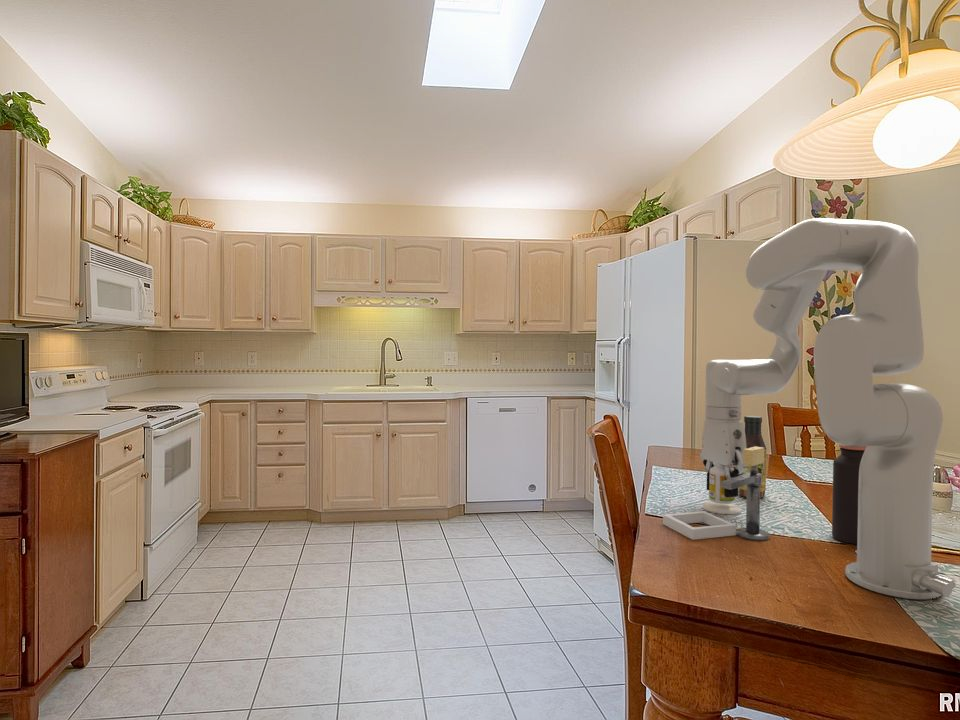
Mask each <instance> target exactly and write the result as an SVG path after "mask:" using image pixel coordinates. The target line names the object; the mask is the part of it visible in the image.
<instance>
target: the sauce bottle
mask: <svg viewBox="0 0 960 720" xmlns="http://www.w3.org/2000/svg"><path fill="white" fill-rule="evenodd" d="M743 419H744V420H743V423H744V429H745V436H746V449H747V448H751V447H755V446H756V447H763V448H764V463H761V464H758V465H757V473H761V474H762V485H760V499H762V498H765V496H766V490H767V489H766V486H767V447H766V444H765V441H764V439H763V438H764V437H763V435H762V423H763V417H762V416H759V415H757V416H756V415H744V417H743ZM747 466H748V469H747V470H746V471H744V472H743V474H745V473H746V472H750V466H749V465H747ZM743 474H742V475H743ZM738 496H741V497H744V498H747V485H744V486H741V487H738Z"/></svg>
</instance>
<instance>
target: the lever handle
mask: <svg viewBox="0 0 960 720" xmlns="http://www.w3.org/2000/svg"><path fill="white" fill-rule="evenodd" d="M761 463H764V448H763V447H756V446H755V447H751V448H747V449H743V465H749V466H750V472H746V473H745V474H743V475H740V476H737V477H733V478H730V479H727V480H724V481H721V488H725V489H730V490H732V489H735V488H738V487H741V486H744V485H747V484H748V485H753V486H760V485H762V474H761V473H757V465H758V464H761ZM738 489H739V488H738Z"/></svg>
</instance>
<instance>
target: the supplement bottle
mask: <svg viewBox="0 0 960 720" xmlns="http://www.w3.org/2000/svg"><path fill="white" fill-rule="evenodd" d="M713 465H714V467H712V468H710V472H709V490H708V495H709V496H708V498H709V500H710V501H712V502H715V503H721V504H731V503H733V504H735V501H736V500H735V499H736V497H725V495H724V488H721V481H724V480H725V479H727V477H726V472H725V467H724V466H723V465H720V464H718V463H716V462H715V461H714V462H713ZM730 469H731V472H732V471H733V470H734V469H733V468H730Z"/></svg>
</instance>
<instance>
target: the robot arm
mask: <svg viewBox="0 0 960 720" xmlns="http://www.w3.org/2000/svg"><path fill="white" fill-rule="evenodd" d="M828 271H850V272H853V271H855V272H859V271H860V272H862V273H861V274H860V275H859V277H858V279H857V281H856V284H855V288H854V292H853V300H854V302H853V303H854V314H842V315H838V316H835V317H833V318H831V319H829V320H827V321H826V322H825V323H824V324H823V325H822V327H820V329H819V331H818V332H817V334H816V336H815V337H816V338H815V341H814V343H813V344H814V346H813V365H814V378H815V391H816V403H817V404H816V405H817V413H818V418H819V423H820V425H821V428H822V430H823V432H824V433H825V435H826V436H827V437H828V438H829V439H830V440H831V441H832V442H833V443H836V444H837V445H839V444H840V445H843V446H849V447H865V446H867V447H866V449H865V451H864V454H863V456H862V459H861V463H860V467H859V483H858V533H857V545H856V561H854V562H851V563H848V564H847V565H846V566H845V576H846V578H847V579H848V580H850V582H853V583H854V584H856V585H857V586H859V587H862V588H864V589H866V590H869V591H872V592H876V593H878V594H883V595H886V596H890V597H895V598H901V599H909V600H933V599H936V597H937V598H939V596H940V597H941V596H943V597H950V596H951V595H952V593H953V590H954V589H955V587H956V582H955V581H954V579H952V578H951V579H950V578H948V577H945V576H941V575H940V574H939V564H938V563H935V562H932V540H933V539H932V538H933V537H932V534H933V533H932V532H933V529H932V528H933V526H932V525H933V491H934V472H935V471H934V469H935V468H934V467H935V458H936V452H937V449H938V444H939V440H940V437H941V433H942V429H943V421H944V420H943V419H944V418H943V417H944V415H943V410H942V407H941V404H940V403H939V401H938V399H937V398H936V397H935V396H934V395H933V394H932V393H931V392H930V391H928V390H927V389H925V388H922V387H920V386H918V385H914V384H909V383H874V376H893V375H900V374H901V375H903V374H907V373H909V372H912V371H914V370H916V369H917V368H918V367H919V366H920V365H921V363H922V361H923V359H924V355H925V345H924V344H925V343H924V331H923V322H922V320H923V319H922V312H921V311H922V310H921V309H922V307H921V300H920V294H919V293H920V292H919V284H918V283H919V280H918V279H919V278H918V277H919V247H918V244H917V241H916V239H915V238H914V236H913V234H911V233H910V231H909V230H908V229H906V228H904V227H903V226H901V225H898V224H894V223H891V222H886V221H878V220H866V219H865V220H863V219H843V218H829V217H828V218H826V217H825V218H824V217H823V218H822V217H818V218H817V217H816V218H811V219H810V218H809V219H806V220H803V221H801V222H798V223H796V224H795V225H792V226H791V227H789V228H787V229H786V230H784V231H782V232H781V233H779V234H777V235H776V236H774V237H771V238H770V239H769V240H767V241H766V242H764V243H763V244H761V245H760V246H759V247H757V248H756V249H755V250H754V251H753V252H752V254H751V256H750V257H749V259H748V261H747V263H746V268H745V278H746V280H747V283H748V284H749V285H750V286H751V287H752V288H755V289H756V290H762V295H761V296H760V298H759V300H758V302H757V303H756V307H755V309H754V310H753V316H752V317H753V319H754V322H755V323H756V324H757V325H758V326H759V327H760V328H762V329H764V330H765V331H767V332H769V333H770V334H772V335H775V336H776V340H775V344H774V347H773V349H772V351H771V353H770V354H769V357H768V358H767V359H763V358H762V359H761V358H759V359H712V360H709V361H708V362H707V363H706V365H705V402H704V403H705V406H704V407H705V409H704V412H705V413H704V414H705V415H704V422H703V431H702V441H701V442H702V443H701V451H700V453H699V457H700V459H701V460H702V463H703V465H704V468H705V469H704V472H705V473H706V490H707V491H709V472H710V468H712V467H714V465H713V462H714V461H715V462H716V463H718V464H720V465H723V466H724V467H725V472H726V477H727V479H730V478H733V477H737V476H740V475H742V474H743V472H744V471H746V470H747V469H748V466H747V465H743V449H746V436H745V424H744V421H742V396H749V395H774V394H776V393H777V394H778V393H779V392H780V391H782V390H783V389H784V388H785V387H787V386H788V384H789V382H790V381H791V380H792V377H793V376H794V374H795V372H796V370H797V369H798V367H799V364H800V362H801V357H802V343H801V337H800V335H799V333H798V327H799V326H800V324H801V322H802V320H803V318H804V316H805V315H806V312H807V310H808V309H809V307H810V305H811V304H812V301H813V299H814V298H815V295H816V294H817V292H818V290H819V288H820V286H821V285H822V282H823V280H824V279H825V277H826V275H827V272H828ZM730 468H732V469H733V471H732V472H731V469H730ZM727 479H725V480H727ZM738 491H739V488H735V489H732V490H730V489H725V488H724V495H725V497H735V498H736V497H737V498H738V496H739V492H738ZM932 598H933V599H932Z"/></svg>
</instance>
